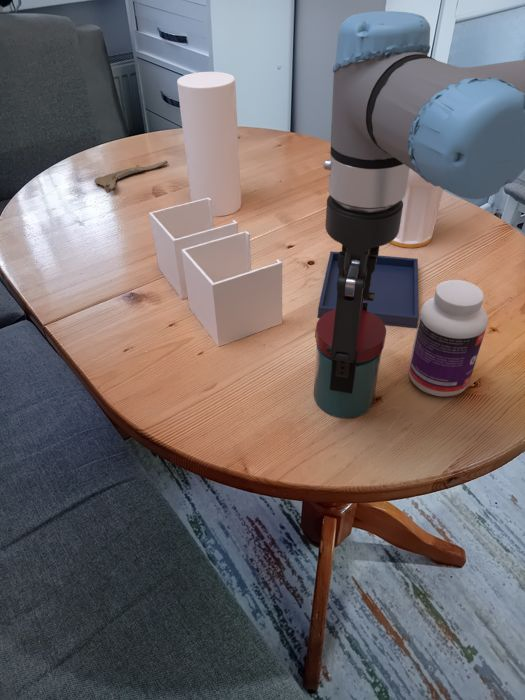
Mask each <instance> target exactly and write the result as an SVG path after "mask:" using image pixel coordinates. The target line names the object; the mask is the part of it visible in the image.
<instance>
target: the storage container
mask: <svg viewBox="0 0 525 700" xmlns="http://www.w3.org/2000/svg"><path fill="white" fill-rule="evenodd" d="M148 216H149V219H150V220H149V221H150V226H151V227H150V228H151V232H152V238H153V239H152V240H153V243H154V249H155V250H154V251H155V255H156V261H157V267H158V270H159V271H160V273H161V274H162V276H163V277H164V278H165V279H166V280H167V282H168V283H169V285H170V286H171V287H172V288H173V290H174V291H175V292H176V293H177V295H178V296H179V298H180V299H181V300H186V299H188V300H187V301H188V307H189V310H190V312H191V313H192V314H193V315H194V317H195V318H196V319H197V321H198V322H199V324H200V325H201V326H202V328H204V330H205V331H206V333H207V334H208V335H209V336H210V338H211V339H212V340H213V341H214V343H215V344H216V345H217V347H222V346H225V345H227V344H231V343H233V342H236V341H239V340H241V339H244V338H246V337H250V336H252V335H254V334H257V333H260V332H263V331H265V330H268V329H271V328H273V327H276V326H280V325H282V324H283V262H282V261H281V260H280V259H275V262H274V263H272V264H268V265H265V266H262V267H260V268H256V269H253V270H252V253H251V251H252V250H251V234H250V232H248V231H247V230H245V231H241V232H239V226H238V225H239V224H238V222H237V221H236V220H234V219H233V220H231V223H228V224H224V225H220V226H218V227H215V223H214V222H215V221H214V217H213V210H212V200H211V199H210V198H209V197H208V198H205V199H201V200H197V201H193V202H191V201H190V202H186V203H185V202H184V203H181V204H177V205H173V206H169V207H166V208H162V209H158V210H154V211H150V212H148Z"/></svg>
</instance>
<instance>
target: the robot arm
mask: <svg viewBox="0 0 525 700" xmlns="http://www.w3.org/2000/svg"><path fill="white" fill-rule="evenodd" d="M430 43H431V24H430V23H429V21H428V20H427V19H426V17H425V16H423V15H421V14H418V13H413V12H406V11H396V10H395V11H394V10H381V11H380V10H379V11H376V10H375V11H367V12H360V13H355V14H352V15H350V16H349V17H347V18H346V19H345V20H344V21H342V23H341V24H340V26H339V29H338V34H337V43H336V54H335V63H334V65H333V66H332V73H333V79H332V80H333V81H332V82H333V83H332V103H331V104H332V105H331V107H332V108H331V124H330V125H331V126H330V127H331V128H330V154H329V155H330V156H329V159H325V160H324V161H323V163H322V166H323V167H322V168H323V169H324V170H326V171H330V173H329V174H328V187H327V192H328V194H329V195H328V197H327V199H326V209H325V210H326V211H325V224H324V225H325V231H326V233H327V235H328V236H329V238H330V239H332V240H334V241H335V242H337V243H339V244H341V250H340V251H338V252H339V257H338V268H339V275H338V280H337V303H336V312H335V322H334V331H333V340H332V346H327V348H326V352H329V353H330V358H331V359H332V368H331V380H330V390H333V391H339V392H344V393H350V394H352V391H353V385H354V377H355V369H356V360H357V352H358V349H357V348H356V347H357V340H358V333H359V327H360V320H361V313H362V310H365V311H367V306H368V303H363V300H364V301H372V302H373V300H374V293H372V292H369V291H370V286H371V278H372V273H373V272H374V270H375V268H376V261H377V258H378V255H379V251H380V247H382V246H383V247H384V246H385V245H388V244H391V243H390V242H391V241H393V240H394V239H395V238H396V236H397V235H398V233H399V228H400V222H401V215H402V209H403V202H402V199H403V198H404V196H405V194H406V188H407V181H408V175H409V169H412V170H413V171H415V172H416V173H417V174H419V175H420V176H421V177H422V178H423V179H424V180H425V181H426V182H430V183H431V184H432V185H434V186H439V187H441V188H442V189H443V191H445V190H446V191H448V192H449V193H451V194H454V195H455V196H457V197H459V198H463V199H467V200H482V199H486V198H489V197H492V196H494V195H496V194H498V193H499V192H500V191H501V189H502V188H503V187H505V186H506V185H509V184H512V183H514V182H515V181H516V180H517V179H518V178H519V177H520V176H521V175H522V173H523V172H524V171H525V59H519V60H513V61H504V62H497V63H490V64H483V65H478V66H470V67H469V66H467V67H465V66H456V65H452V64H448V63H446V62H443V61H439V60H437V59H435V58H433V57H431V56H428V55H429V53H430V51H431V50H430V49H431V45H430ZM344 276H345V277H344Z"/></svg>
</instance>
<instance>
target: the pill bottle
mask: <svg viewBox="0 0 525 700" xmlns="http://www.w3.org/2000/svg"><path fill="white" fill-rule="evenodd" d="M484 298H485V296H484V292H483V291H482V289H481V288H480V287H479V286H477V285H476V284H473V283H472V282H470V281H466V280H462V279H448V280H444V281H442V282H440V283H438V285H437V286H436V287H435V292H434V294H433V296H432V297H429V299H427V300H426V301H425V302H424V303H423V305H422V306H421V308H420V312H419V319H418V324H417V328H416V332H415V337H414V341H413V346H412V351H411V356H410V361H409V366H408V375H409V379H410V380H411V382H412V383H413V384H414V386H415V387H417V388H418V389H419V390H420V391H422V392H423V393H426V394H429V395H431V396H436V397H452V396H457V395H459V394H461V393H463V392H464V391H465V390H466V389H467V388H468V386H469V384H470V381H471V378H472V375H473V372H474V369H475V365H476V362H477V359H478V356H479V352H480V349H481V347H482V343H483V340H484V337H485V334H486V330H487V327H488V323H489V317H488V313H487V311H486V310H485V308H484V307H483V306H482V305H483V302H484Z"/></svg>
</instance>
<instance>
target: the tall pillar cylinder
mask: <svg viewBox="0 0 525 700" xmlns="http://www.w3.org/2000/svg"><path fill="white" fill-rule="evenodd" d="M176 84H177V85H176V86H177V93H178V100H179V110H180V120H181V127H182V135H183V136H182V137H183V144H184V145H183V146H184V153H185V161H186V169H187V179H188V187H189V195H190V202H193V201H197V200H201V199H205V198H208V197H209V198H210V199H211V200H212V210H213V218H216V217H219V218H220V217H226V216H228V215H229V216H230V215H232V214H234V213H236V212H237V211H239V210H240V209H241V207H242V188H241V187H242V186H241V169H240V167H241V166H240V149H239V130H238V111H237V90H236V78H235V76H234V75H233V74H230V73H227V72H222V71H200V72H199V71H198V72H193V73H188V74H184V75H182V76H179V78H178V79H177V81H176Z"/></svg>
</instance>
